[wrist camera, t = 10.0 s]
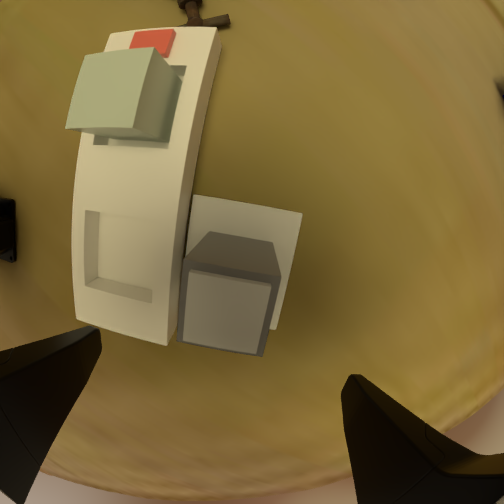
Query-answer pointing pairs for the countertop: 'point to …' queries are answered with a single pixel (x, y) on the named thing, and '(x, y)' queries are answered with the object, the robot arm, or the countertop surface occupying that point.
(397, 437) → the robot arm
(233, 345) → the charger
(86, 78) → the lamp plug
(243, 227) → the rubber pad
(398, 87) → the countertop surface
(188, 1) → the faucet
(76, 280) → the power strip
